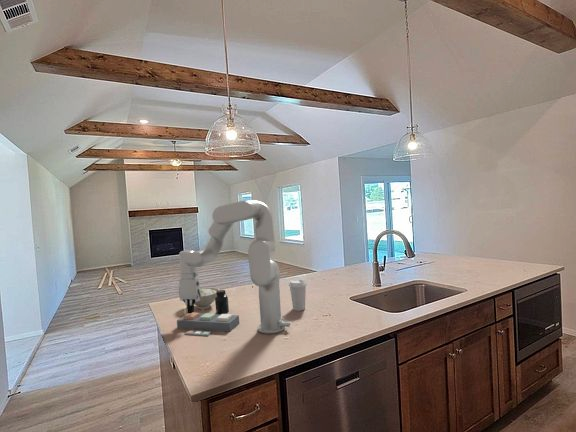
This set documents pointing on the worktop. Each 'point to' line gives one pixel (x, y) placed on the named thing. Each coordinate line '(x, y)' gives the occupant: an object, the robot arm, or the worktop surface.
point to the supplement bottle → (221, 302)
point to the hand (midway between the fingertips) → (190, 312)
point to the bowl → (207, 297)
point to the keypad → (208, 323)
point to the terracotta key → (191, 316)
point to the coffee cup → (298, 294)
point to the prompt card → (198, 333)
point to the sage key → (207, 316)
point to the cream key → (224, 317)
